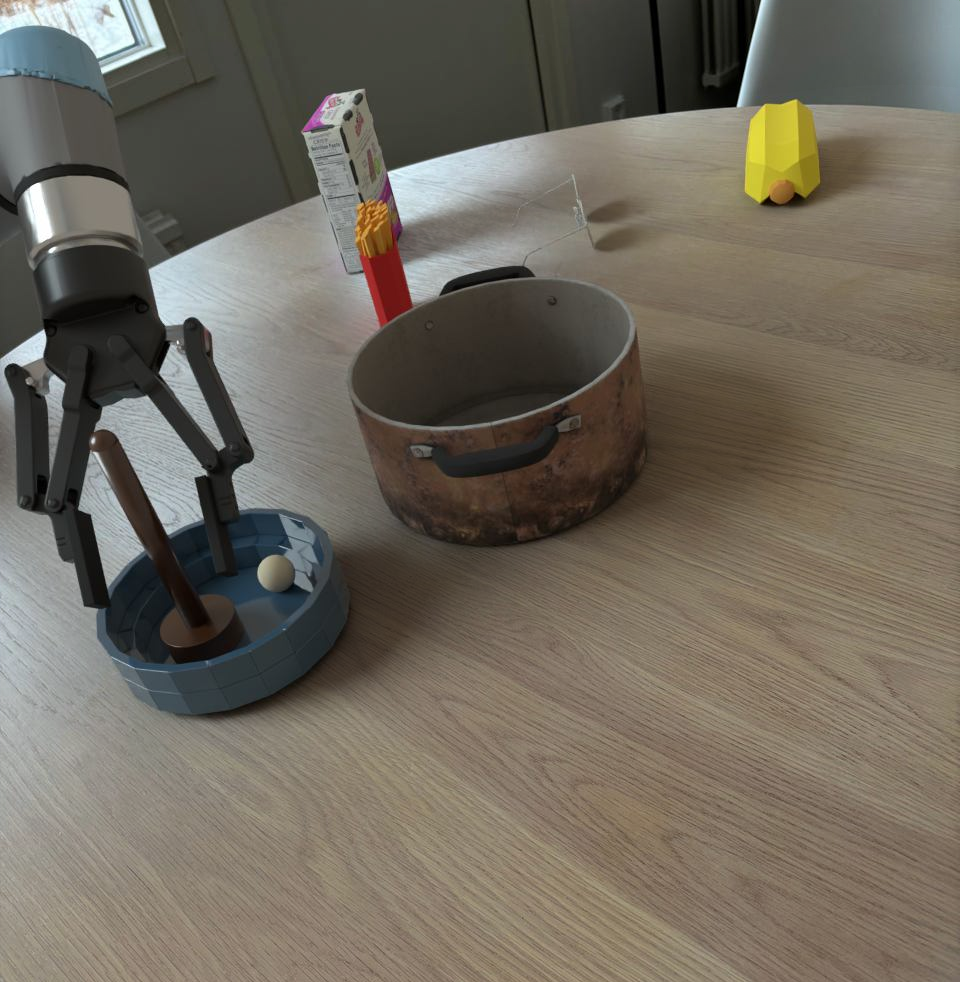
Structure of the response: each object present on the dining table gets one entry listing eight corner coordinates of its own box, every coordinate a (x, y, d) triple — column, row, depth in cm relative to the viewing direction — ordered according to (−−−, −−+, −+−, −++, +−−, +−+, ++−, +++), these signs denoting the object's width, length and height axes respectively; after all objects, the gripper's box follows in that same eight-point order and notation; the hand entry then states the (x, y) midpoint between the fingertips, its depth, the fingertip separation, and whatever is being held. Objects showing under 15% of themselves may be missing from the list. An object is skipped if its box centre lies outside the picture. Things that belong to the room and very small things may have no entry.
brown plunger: (169, 675, 75) (49, 467, 63) (171, 625, 79) (59, 422, 67) (245, 653, 75) (139, 441, 63) (243, 605, 79) (143, 397, 67)
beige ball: (255, 591, 77) (247, 574, 79) (288, 603, 79) (280, 587, 81) (272, 558, 76) (264, 543, 79) (305, 572, 78) (297, 556, 80)
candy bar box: (365, 235, 130) (325, 94, 119) (404, 229, 128) (367, 86, 117) (343, 276, 122) (298, 129, 111) (384, 271, 120) (342, 121, 109)
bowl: (132, 756, 71) (99, 706, 67) (121, 605, 84) (93, 557, 80) (375, 666, 72) (355, 613, 69) (328, 531, 85) (308, 481, 82)
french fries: (378, 309, 113) (346, 199, 105) (413, 300, 113) (384, 189, 105) (382, 345, 107) (349, 230, 99) (420, 335, 107) (389, 220, 99)
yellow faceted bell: (744, 218, 111) (820, 208, 109) (742, 153, 107) (821, 142, 105) (747, 153, 124) (815, 144, 122) (745, 93, 119) (816, 82, 117)
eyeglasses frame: (598, 257, 111) (584, 213, 108) (524, 286, 113) (508, 243, 110) (584, 208, 122) (571, 167, 118) (516, 235, 123) (501, 195, 120)
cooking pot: (676, 553, 74) (663, 424, 67) (372, 604, 77) (328, 486, 70) (626, 350, 96) (613, 236, 89) (392, 395, 99) (360, 289, 92)
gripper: (254, 249, 74) (326, 559, 73) (-30, 323, 75) (38, 630, 74) (222, 201, 67) (303, 545, 66) (-92, 284, 68) (-18, 625, 66)
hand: (162, 590), depth 70 cm, fingers open, 8 cm apart
